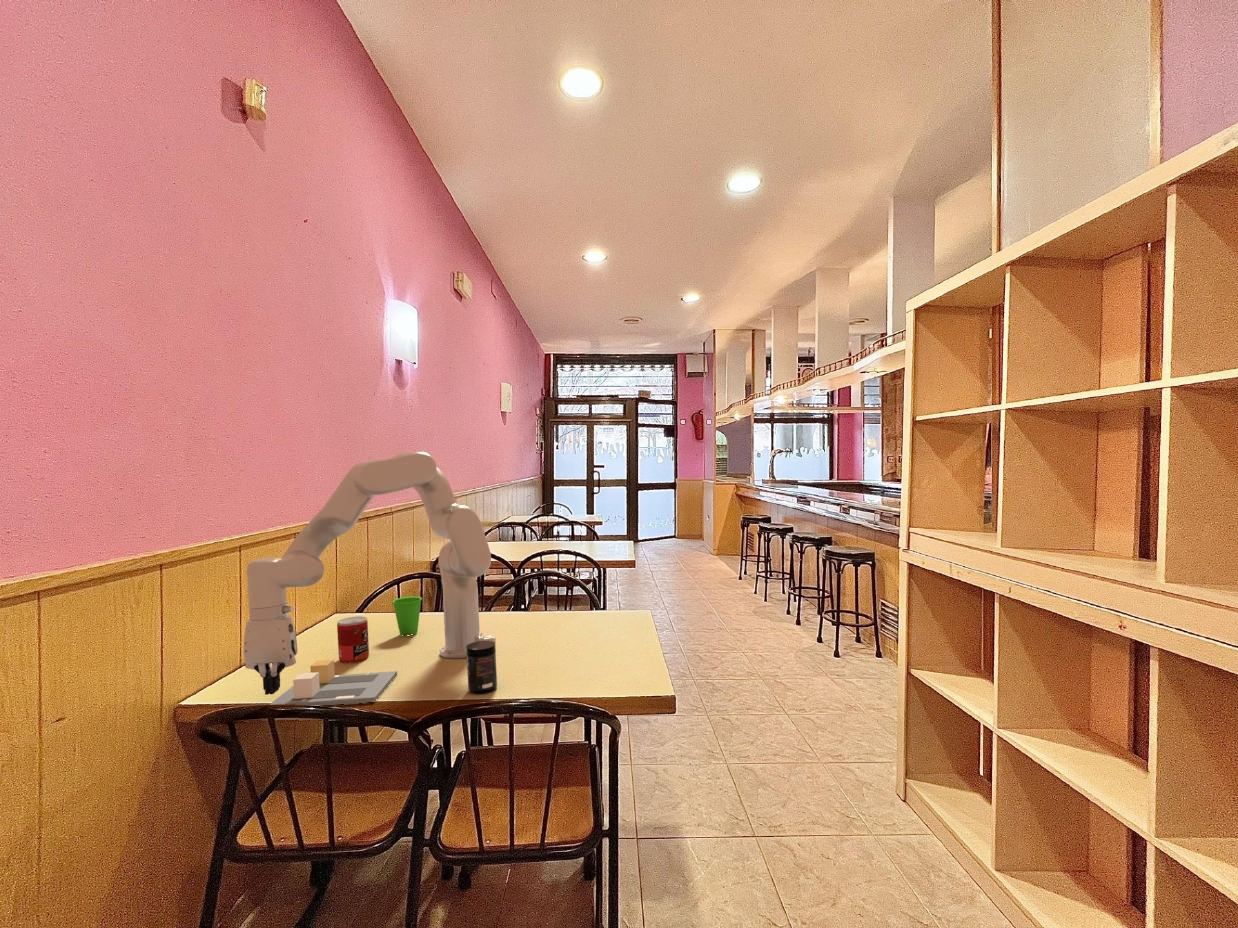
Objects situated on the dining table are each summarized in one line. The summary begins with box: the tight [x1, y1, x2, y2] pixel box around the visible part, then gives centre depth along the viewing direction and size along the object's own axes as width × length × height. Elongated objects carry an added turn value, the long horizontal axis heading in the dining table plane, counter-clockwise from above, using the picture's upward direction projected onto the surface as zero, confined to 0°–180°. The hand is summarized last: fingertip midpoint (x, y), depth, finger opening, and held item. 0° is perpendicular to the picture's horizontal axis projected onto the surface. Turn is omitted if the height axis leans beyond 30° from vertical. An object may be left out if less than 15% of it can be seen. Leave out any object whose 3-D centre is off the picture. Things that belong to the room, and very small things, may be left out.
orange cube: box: [310, 659, 336, 684], centre depth 148 cm, size 4×4×4 cm
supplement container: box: [466, 641, 498, 695], centre depth 141 cm, size 7×7×10 cm
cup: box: [391, 596, 423, 637], centre depth 191 cm, size 9×9×11 cm
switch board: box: [269, 670, 398, 706], centre depth 144 cm, size 23×17×1 cm
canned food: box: [336, 615, 370, 664], centre depth 168 cm, size 8×8×11 cm
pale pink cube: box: [292, 672, 320, 699], centre depth 139 cm, size 4×4×4 cm
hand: (272, 691), depth 138 cm, fingers closed
